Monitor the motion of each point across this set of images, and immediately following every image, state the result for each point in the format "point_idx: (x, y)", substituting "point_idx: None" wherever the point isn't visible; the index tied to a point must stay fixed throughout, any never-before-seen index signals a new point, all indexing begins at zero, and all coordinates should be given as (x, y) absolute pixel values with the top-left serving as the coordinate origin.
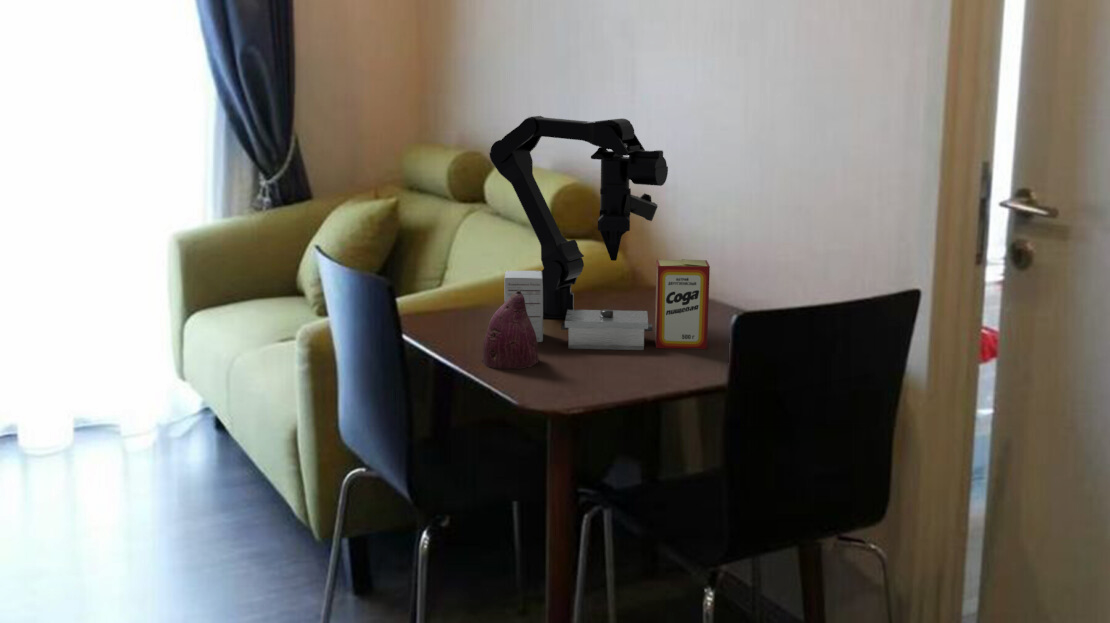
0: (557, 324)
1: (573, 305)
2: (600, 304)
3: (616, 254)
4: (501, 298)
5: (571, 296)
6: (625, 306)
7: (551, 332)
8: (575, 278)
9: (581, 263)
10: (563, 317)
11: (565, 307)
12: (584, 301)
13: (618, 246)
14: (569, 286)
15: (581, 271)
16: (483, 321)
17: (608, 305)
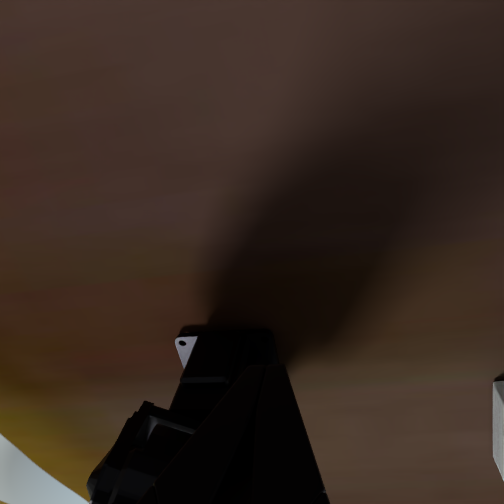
0: (351, 352)
1: (211, 347)
2: (23, 266)
3: (295, 407)
4: (87, 477)
5: (229, 379)
6: (6, 182)
7: (473, 358)
8: (145, 419)
9: (150, 475)
10: (275, 348)
11: (248, 365)
12: (11, 313)
13: (321, 483)
14: (194, 413)
15: (156, 434)
16: (346, 497)
17: (23, 241)
